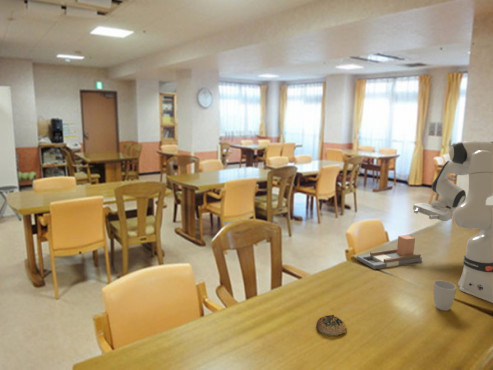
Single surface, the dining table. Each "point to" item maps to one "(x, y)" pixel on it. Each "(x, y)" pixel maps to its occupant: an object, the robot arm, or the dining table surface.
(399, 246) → the block
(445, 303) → the cup
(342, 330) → the bread roll
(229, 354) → the dining table surface
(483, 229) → the robot arm
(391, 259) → the tray
